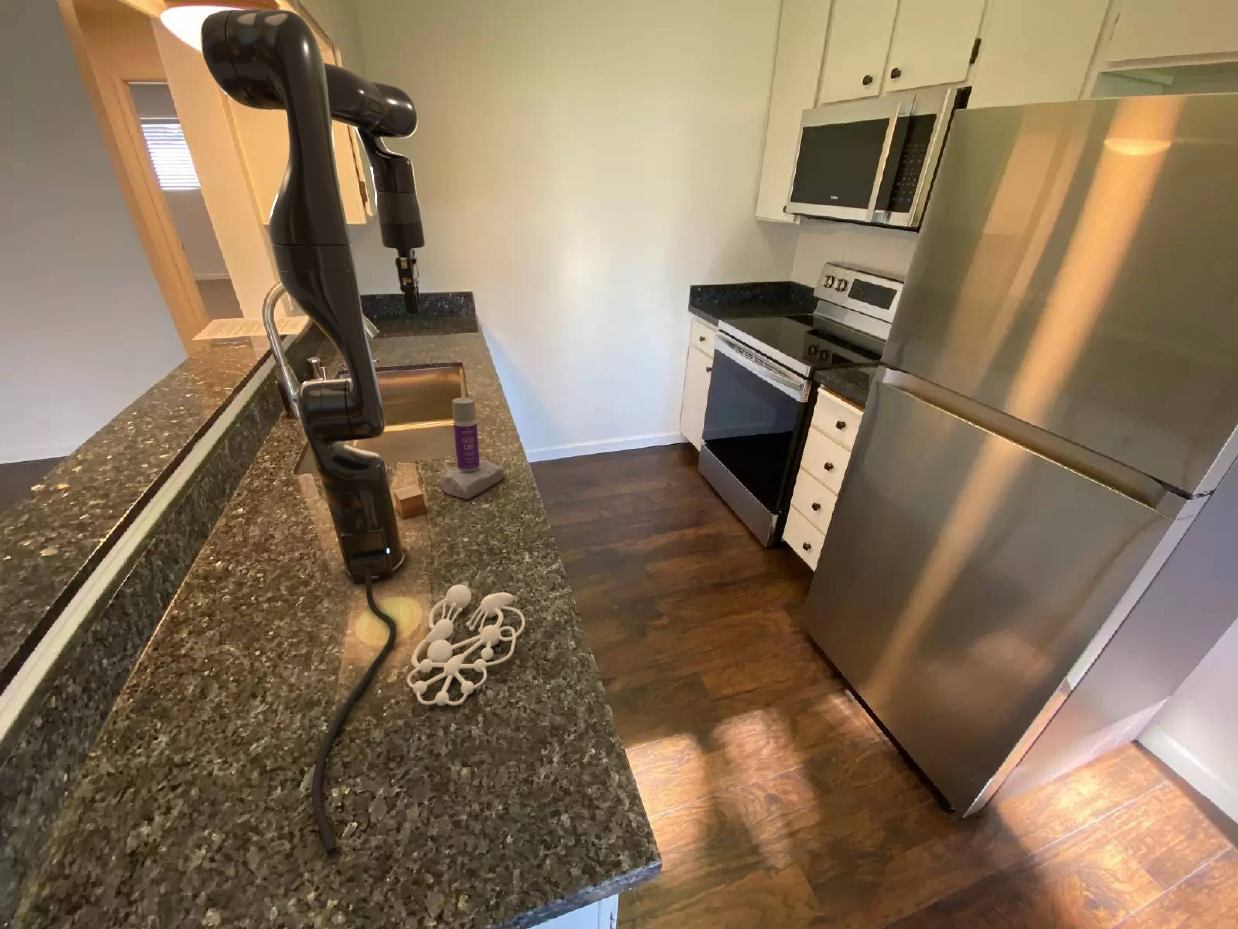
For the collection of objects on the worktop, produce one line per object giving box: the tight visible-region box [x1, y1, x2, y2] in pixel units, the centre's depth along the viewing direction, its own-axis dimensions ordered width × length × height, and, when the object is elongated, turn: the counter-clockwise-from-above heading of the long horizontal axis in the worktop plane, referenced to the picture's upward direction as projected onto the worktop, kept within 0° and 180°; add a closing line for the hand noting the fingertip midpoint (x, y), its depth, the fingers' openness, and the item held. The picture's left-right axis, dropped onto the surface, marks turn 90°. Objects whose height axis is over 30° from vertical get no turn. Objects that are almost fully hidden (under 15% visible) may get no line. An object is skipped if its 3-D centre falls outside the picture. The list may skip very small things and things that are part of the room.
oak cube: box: [392, 483, 427, 520], centre depth 104 cm, size 4×4×4 cm
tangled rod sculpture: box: [406, 583, 526, 707], centre depth 73 cm, size 19×14×4 cm
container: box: [451, 397, 480, 471], centre depth 110 cm, size 5×5×15 cm
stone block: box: [439, 459, 505, 501], centre depth 114 cm, size 12×5×10 cm
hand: (413, 308), depth 104 cm, fingers open, 8 cm apart
